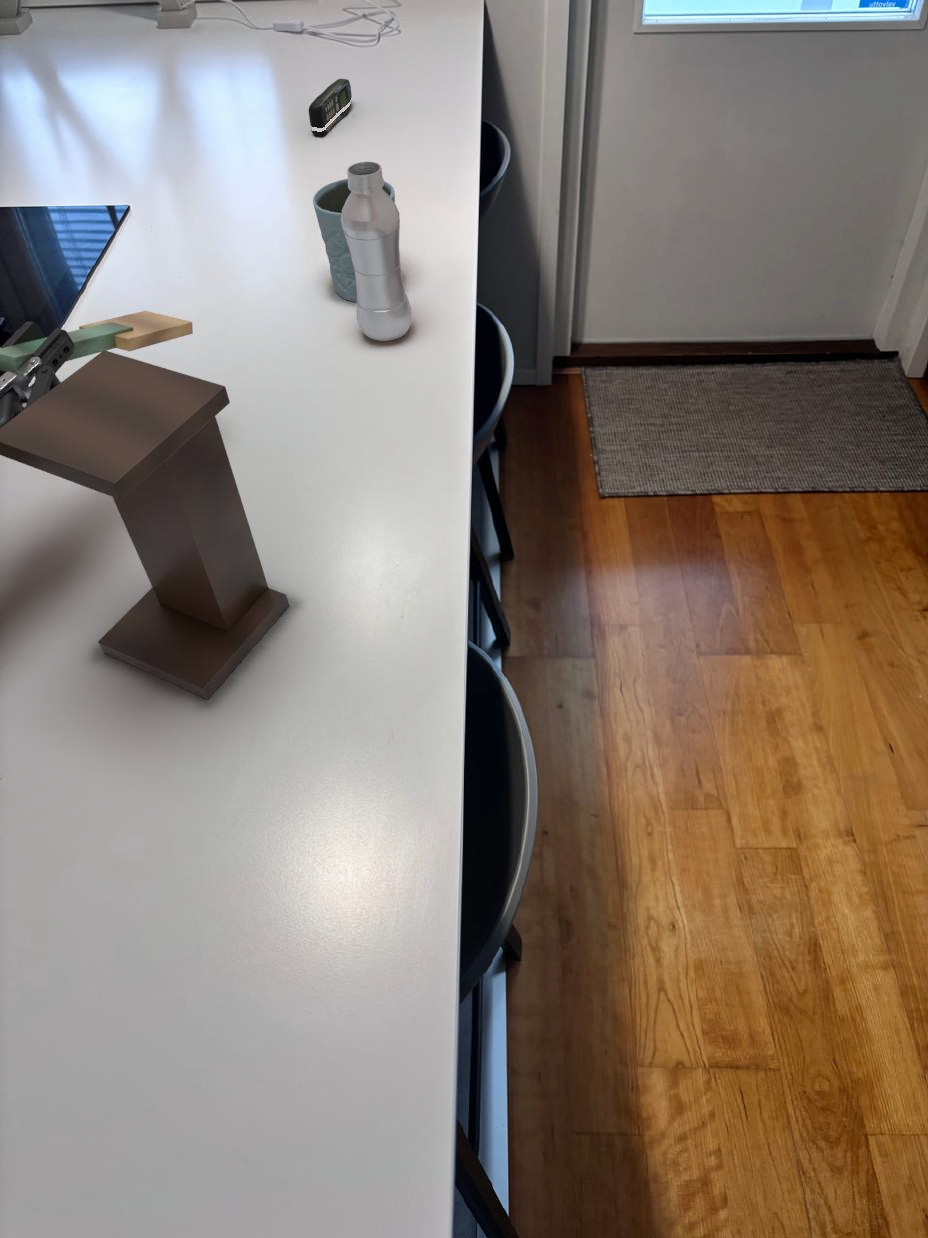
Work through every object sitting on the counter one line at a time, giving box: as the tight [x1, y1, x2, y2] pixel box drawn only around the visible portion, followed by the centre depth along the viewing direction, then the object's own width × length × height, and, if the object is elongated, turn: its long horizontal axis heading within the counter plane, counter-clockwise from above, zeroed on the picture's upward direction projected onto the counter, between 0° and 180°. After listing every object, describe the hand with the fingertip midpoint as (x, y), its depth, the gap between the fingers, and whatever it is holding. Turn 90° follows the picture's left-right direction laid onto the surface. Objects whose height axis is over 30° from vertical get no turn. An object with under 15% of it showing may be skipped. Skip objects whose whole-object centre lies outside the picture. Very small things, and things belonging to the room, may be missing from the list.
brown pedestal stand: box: [0, 350, 290, 700], centre depth 77 cm, size 12×12×24 cm
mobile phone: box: [308, 78, 353, 137], centre depth 160 cm, size 5×3×15 cm
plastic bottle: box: [341, 161, 413, 342], centre depth 110 cm, size 6×7×20 cm
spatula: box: [0, 310, 194, 372], centre depth 88 cm, size 20×6×2 cm, turn 153°
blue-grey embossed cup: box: [312, 178, 396, 303], centre depth 121 cm, size 10×10×12 cm
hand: (52, 333), depth 83 cm, fingers closed on spatula, 3 cm apart
